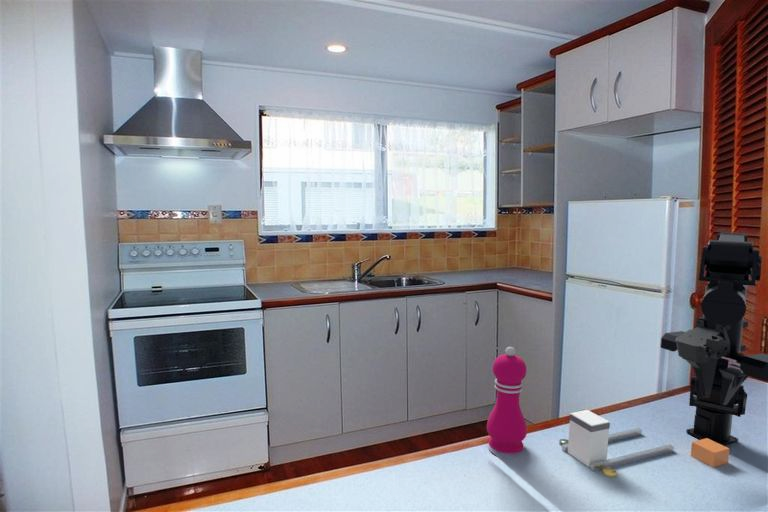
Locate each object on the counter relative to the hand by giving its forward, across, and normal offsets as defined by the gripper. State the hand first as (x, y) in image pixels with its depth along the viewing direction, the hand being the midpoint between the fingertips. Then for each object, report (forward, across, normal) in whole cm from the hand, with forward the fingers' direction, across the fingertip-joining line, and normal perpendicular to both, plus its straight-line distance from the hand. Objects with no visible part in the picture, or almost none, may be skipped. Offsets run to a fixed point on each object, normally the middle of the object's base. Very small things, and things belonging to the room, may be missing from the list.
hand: (714, 401), depth 86 cm
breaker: (+11, -8, -20) cm, 24 cm away
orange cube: (+12, 0, 0) cm, 12 cm away
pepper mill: (+12, -17, -31) cm, 37 cm away
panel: (+12, -8, -13) cm, 19 cm away
